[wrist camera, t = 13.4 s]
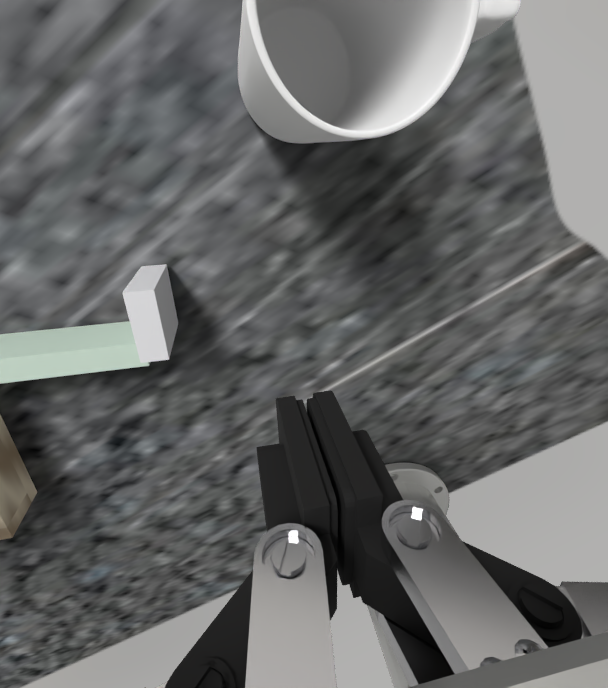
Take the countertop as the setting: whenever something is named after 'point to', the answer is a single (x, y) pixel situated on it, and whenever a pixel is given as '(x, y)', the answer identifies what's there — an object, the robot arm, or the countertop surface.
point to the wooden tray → (12, 485)
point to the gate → (99, 337)
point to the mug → (354, 62)
